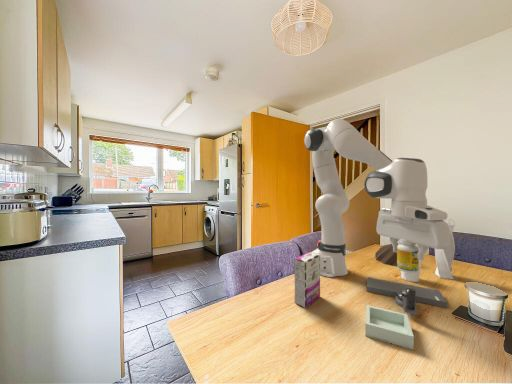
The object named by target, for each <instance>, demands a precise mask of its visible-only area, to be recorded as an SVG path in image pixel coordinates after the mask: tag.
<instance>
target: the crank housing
mask: <svg viewBox="0 0 512 384" xmlns="http://www.w3.org/2000/svg"><path fill="white" fill-rule="evenodd" d="M406 288H412V289H414V290H416V298H415V307H416V308H417V303H422V304H427V305H431V306H437V307H441V308H445V309H448V301H447V300H446V298H445V297H444V295H443V294H442V292H441V290H439V289H434V288H428V287H423V286H417V285H412V284H406V283H400V282H396V281H395V282H394V281H390V280H383V279H378V278H373V277H366V292H368V293H374V294H379V295H382V296H388V297H392V298H395V303H396V305H398V306H400V307H402V308H403V304H402V301H401V300H400V299H398V297H397V293H398V292H399V291H406Z"/></svg>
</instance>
